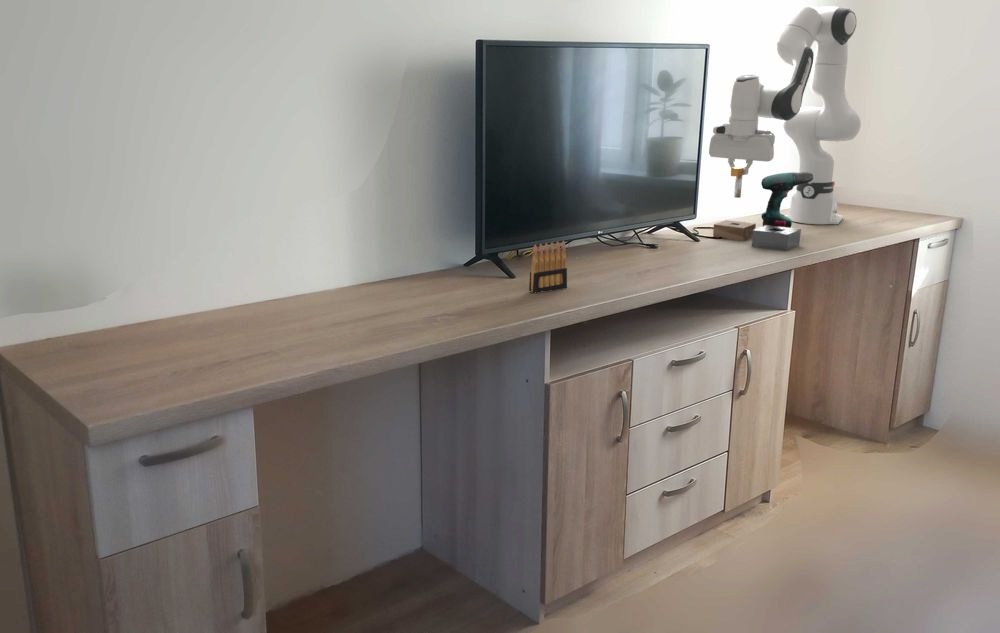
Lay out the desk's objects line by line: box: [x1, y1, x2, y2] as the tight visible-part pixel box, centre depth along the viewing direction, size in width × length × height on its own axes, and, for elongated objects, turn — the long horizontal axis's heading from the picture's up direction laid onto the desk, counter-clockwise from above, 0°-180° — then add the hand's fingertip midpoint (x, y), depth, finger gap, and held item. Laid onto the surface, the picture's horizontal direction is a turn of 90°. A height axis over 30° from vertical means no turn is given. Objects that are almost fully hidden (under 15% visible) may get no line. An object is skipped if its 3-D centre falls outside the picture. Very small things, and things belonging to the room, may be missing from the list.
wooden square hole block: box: [712, 219, 757, 241], centre depth 305 cm, size 10×10×4 cm
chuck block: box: [751, 225, 802, 252], centre depth 291 cm, size 11×11×5 cm
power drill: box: [761, 171, 814, 228], centre depth 310 cm, size 7×16×20 cm, turn 89°
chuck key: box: [730, 165, 747, 199], centre depth 301 cm, size 8×2×10 cm, turn 144°
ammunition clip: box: [528, 240, 568, 294], centre depth 234 cm, size 11×2×12 cm, turn 126°
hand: (739, 173), depth 300 cm, fingers closed on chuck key, 2 cm apart
